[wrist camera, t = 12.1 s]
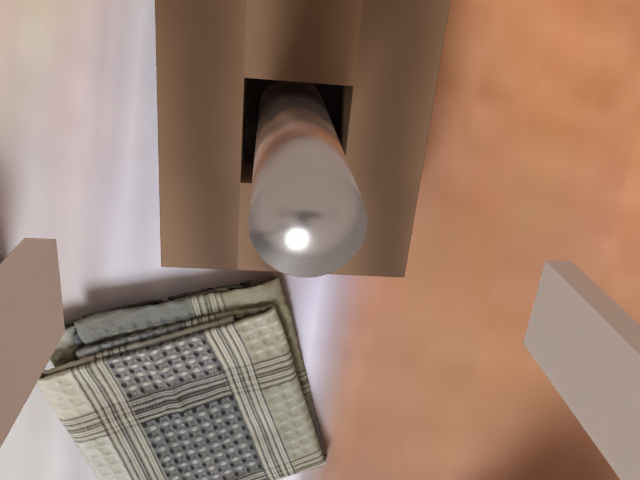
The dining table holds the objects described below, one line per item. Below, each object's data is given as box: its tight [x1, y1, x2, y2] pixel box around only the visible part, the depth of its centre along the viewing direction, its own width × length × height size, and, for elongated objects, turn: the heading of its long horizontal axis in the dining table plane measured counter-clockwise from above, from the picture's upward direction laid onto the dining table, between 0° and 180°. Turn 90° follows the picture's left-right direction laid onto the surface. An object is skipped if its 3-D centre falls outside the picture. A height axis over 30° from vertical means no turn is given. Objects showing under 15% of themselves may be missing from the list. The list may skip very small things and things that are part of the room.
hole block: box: [155, 0, 450, 277], centre depth 33 cm, size 14×16×6 cm
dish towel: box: [37, 274, 327, 480], centre depth 44 cm, size 19×18×3 cm
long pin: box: [248, 80, 368, 277], centre depth 28 cm, size 4×4×18 cm
